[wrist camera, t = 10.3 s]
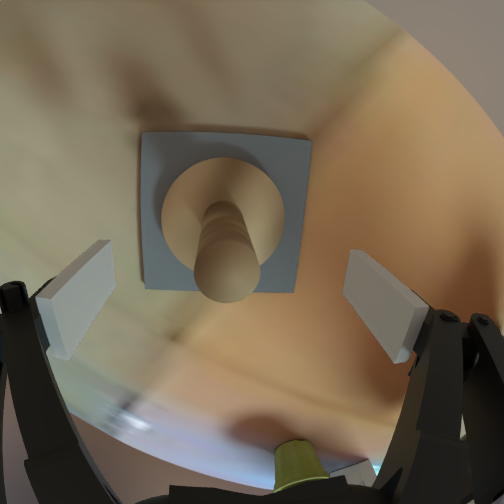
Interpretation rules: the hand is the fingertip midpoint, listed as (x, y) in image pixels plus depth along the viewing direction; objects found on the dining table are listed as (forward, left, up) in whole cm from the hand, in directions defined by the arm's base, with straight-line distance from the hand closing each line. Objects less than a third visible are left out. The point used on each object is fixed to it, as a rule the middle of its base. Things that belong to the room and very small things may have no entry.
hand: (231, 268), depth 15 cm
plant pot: (-12, +37, -11) cm, 40 cm away
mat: (0, 0, -11) cm, 11 cm away
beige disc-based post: (0, 0, -10) cm, 10 cm away
